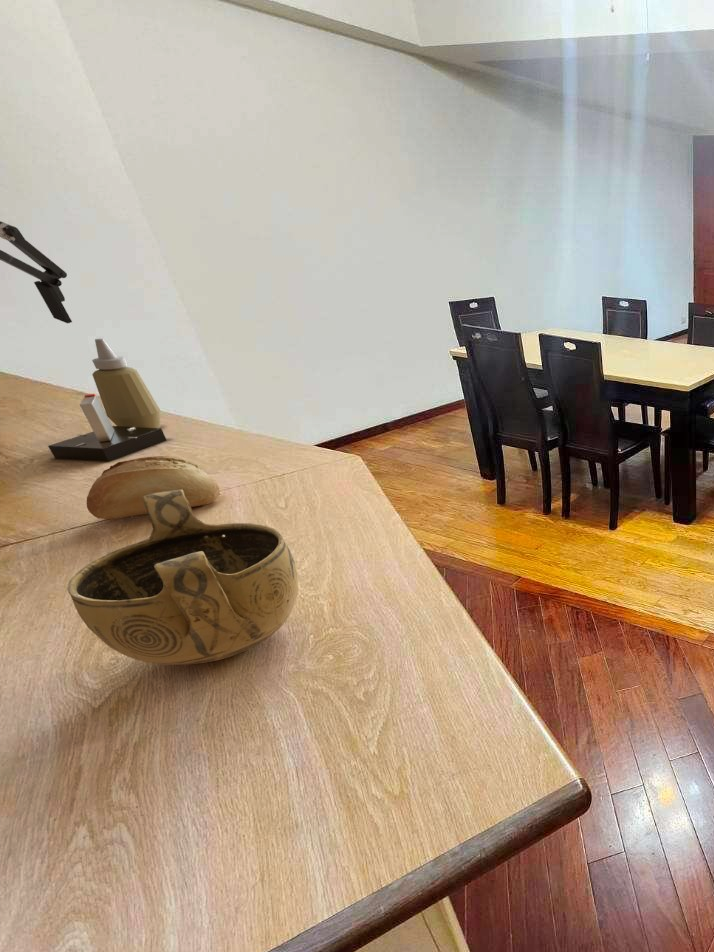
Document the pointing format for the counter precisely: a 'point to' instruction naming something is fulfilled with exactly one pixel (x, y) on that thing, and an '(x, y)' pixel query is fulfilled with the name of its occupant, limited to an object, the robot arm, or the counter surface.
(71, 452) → the panel
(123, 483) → the bread roll
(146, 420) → the squeeze bottle
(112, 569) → the ceramic bowl
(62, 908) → the counter surface
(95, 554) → the counter surface
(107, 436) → the red-tipped white tile
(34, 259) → the robot arm
